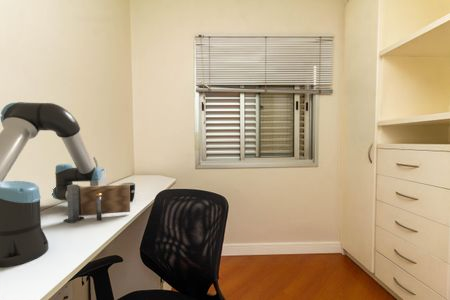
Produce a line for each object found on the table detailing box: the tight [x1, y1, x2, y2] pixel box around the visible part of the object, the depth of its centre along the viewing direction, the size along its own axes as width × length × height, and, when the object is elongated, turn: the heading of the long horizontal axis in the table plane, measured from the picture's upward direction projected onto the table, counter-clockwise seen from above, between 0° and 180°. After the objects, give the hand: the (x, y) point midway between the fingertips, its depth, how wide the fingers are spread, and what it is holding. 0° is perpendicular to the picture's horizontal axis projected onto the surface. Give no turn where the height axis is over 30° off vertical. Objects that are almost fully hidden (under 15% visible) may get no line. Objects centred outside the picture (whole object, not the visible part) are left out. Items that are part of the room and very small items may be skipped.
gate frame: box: [62, 183, 103, 224], centre depth 109 cm, size 8×14×16 cm, turn 71°
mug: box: [117, 182, 136, 203], centre depth 142 cm, size 12×9×10 cm
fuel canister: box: [89, 156, 108, 186], centre depth 152 cm, size 15×5×25 cm, turn 5°
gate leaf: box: [78, 184, 131, 217], centre depth 115 cm, size 23×2×14 cm, turn 105°
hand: (113, 198), depth 121 cm, fingers closed
